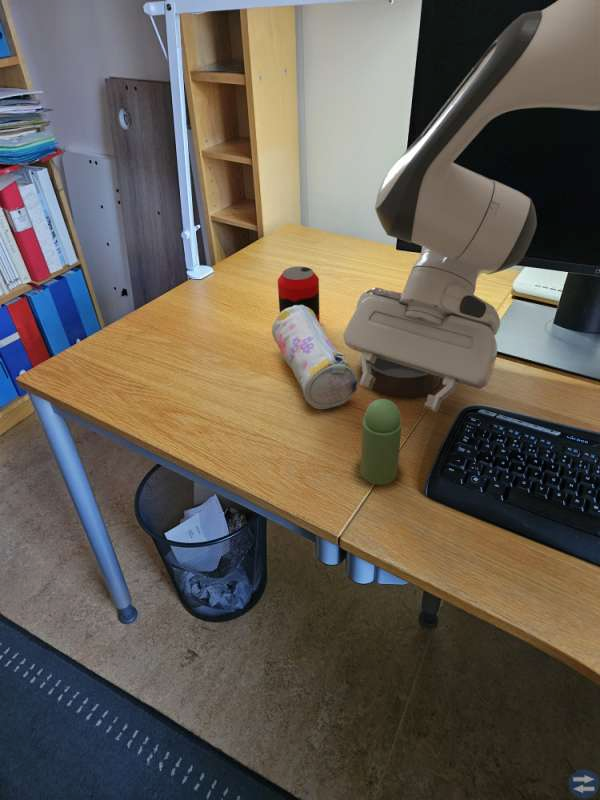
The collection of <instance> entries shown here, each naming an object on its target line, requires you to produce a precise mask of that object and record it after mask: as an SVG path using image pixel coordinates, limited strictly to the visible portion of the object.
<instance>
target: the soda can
mask: <svg viewBox="0 0 600 800" xmlns="http://www.w3.org/2000/svg"><path fill="white" fill-rule="evenodd" d="M277 294H278V295H277V296H278V309H279V314H280V313H281V312H282V311H283V310H285V309H286V308H289V307H293V306H294V305H298V306H299V305H304V306H305V307H308V308H310V309H311V310H312V311H313V312H314V313H315V315H316V318H317V320H318V322H319V323H320V324H321V321H320V320H321V319H320V278H319V276H318V275H317V274H316V273H315V272H314V271H313V269H312V268H310V267H307V266H291V267H288V268H286V269H284V270H283V271H282V273H281V274H280V276H279V277H278V279H277Z"/></svg>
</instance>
